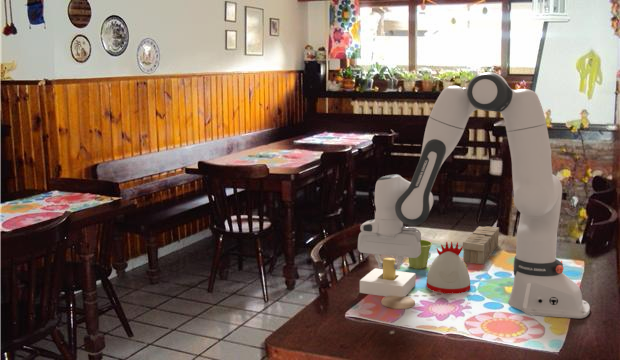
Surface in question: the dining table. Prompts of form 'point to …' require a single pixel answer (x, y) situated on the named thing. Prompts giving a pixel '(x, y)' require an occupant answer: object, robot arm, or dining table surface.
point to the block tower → (480, 244)
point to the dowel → (389, 269)
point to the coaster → (398, 302)
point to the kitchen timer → (448, 272)
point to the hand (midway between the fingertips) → (389, 268)
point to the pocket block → (387, 283)
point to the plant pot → (421, 256)
